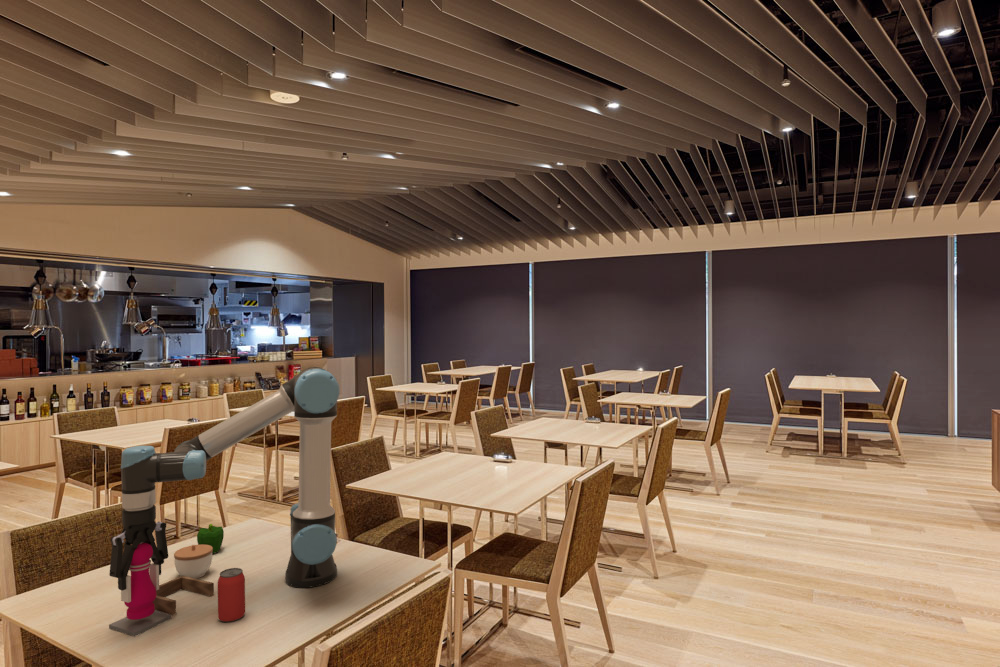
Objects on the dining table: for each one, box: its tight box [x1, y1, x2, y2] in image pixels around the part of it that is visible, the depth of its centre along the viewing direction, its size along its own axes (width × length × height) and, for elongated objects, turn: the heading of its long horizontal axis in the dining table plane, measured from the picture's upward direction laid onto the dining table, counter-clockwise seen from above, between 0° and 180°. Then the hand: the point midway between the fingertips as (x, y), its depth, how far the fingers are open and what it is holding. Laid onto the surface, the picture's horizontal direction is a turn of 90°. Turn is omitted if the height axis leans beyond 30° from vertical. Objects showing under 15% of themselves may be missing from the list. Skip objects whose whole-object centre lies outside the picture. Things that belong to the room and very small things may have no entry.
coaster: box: [108, 610, 173, 637], centre depth 156 cm, size 10×10×1 cm
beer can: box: [217, 567, 246, 623], centre depth 159 cm, size 7×7×12 cm
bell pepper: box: [196, 523, 225, 554], centre depth 206 cm, size 8×8×10 cm
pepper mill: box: [123, 542, 157, 620], centre depth 156 cm, size 7×7×20 cm
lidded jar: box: [173, 544, 213, 579], centre depth 186 cm, size 11×11×9 cm
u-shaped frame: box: [153, 575, 215, 616], centre depth 169 cm, size 13×13×4 cm
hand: (140, 594), depth 156 cm, fingers closed on pepper mill, 7 cm apart
